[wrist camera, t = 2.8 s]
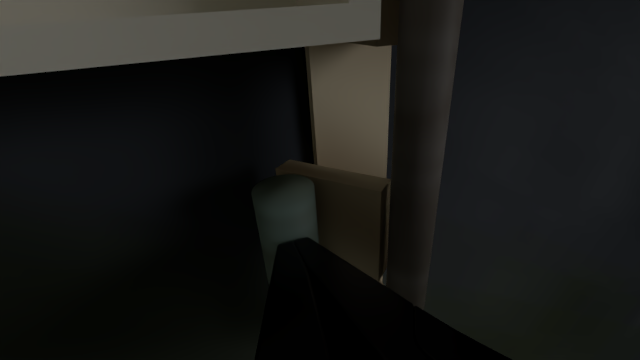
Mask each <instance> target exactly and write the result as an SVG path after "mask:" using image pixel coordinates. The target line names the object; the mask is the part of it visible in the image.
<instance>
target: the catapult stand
mask: <svg viewBox="0 0 640 360" xmlns="http://www.w3.org/2000/svg"><path fill="white" fill-rule="evenodd" d="M399 3H400V0H381V25H380V39H376V40H366V41H356V42H346V43H335V44H325V45H315V46H305V54H306V67H307V80H308V92H309V105H310V117H311V130H312V142H313V155H314V164H315V165H320V166H325V167H330V168H335V169H341V170H346V171H351V172H356V173H361V174H366V175H372V176H377V177H382V178H386V173H387V147H388V121H389V95H390V68H391V45H398V24H399ZM382 277H383V275H382ZM382 277H381V279H380V281H379V282H380V283H381V284H383V283H382Z"/></svg>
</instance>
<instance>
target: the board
mask: <svg viewBox="0 0 640 360" xmlns="http://www.w3.org/2000/svg"><path fill="white" fill-rule="evenodd" d="M380 25H381V0H0V77H1V76H11V75H21V74H31V73H41V72H51V71H61V70H72V69H82V68H92V67H102V66H112V65H122V64H133V63H143V62H153V61H163V60H173V59H183V58H193V57H204V56H214V55H224V54H234V53H244V52H254V51H264V50H275V49H285V48H295V47H305V46H315V45H325V44H335V43H346V42H356V41H366V40H376V39H380Z"/></svg>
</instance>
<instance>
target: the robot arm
mask: <svg viewBox="0 0 640 360" xmlns="http://www.w3.org/2000/svg"><path fill="white" fill-rule="evenodd" d="M255 360H512V359H510V358H508V357H506V356H504V355H502V354H500V353H498V352H496V351H494V350H492V349H490V348H489V347H487V346H485V345H483V344H481V343H479V342H477V341H475V340H474V339H472V338H470V337H468V336H466V335H464V334H463V333H461V332H459V331H457V330H455V329H453V328H452V327H450V326H448V325H447V324H445V323H444V322H442V321H440V320H439V319H437V318H435V317H434V316H432V315H430V314H429V313H427V312H426V311H424V310H422V309H421V308H419V307H418V306H414V307H413V303H411V302H410V301H408V300H406V299H405V298H403V297H402V296H400V295H399V294H397V293H395V292H394V291H392V290H391V289H389V288H388V287H386V286H384V285H383V284H381V283H380V282H378V281H377V280H375V279H374V278H372V277H370V276H369V275H367V274H366V273H364V272H363V271H361V270H359V269H358V268H356V267H355V266H353V265H352V264H350V263H348V262H347V261H345V260H344V259H342V258H341V257H339V256H337V255H336V254H334V253H333V252H331V251H330V250H328V249H326V248H325V247H323V246H322V245H320V244H319V243H317V242H315V241H314V240H312V239H311V238H309V237H304V238H300V239H297V240H294V241H289V242H285V243H281V244H279V245H278V246H277V250H276V255H275V260H274V265H273V270H272V275H271V280H270V285H269V290H268V295H267V300H266V305H265V310H264V315H263V320H262V325H261V330H260V335H259V340H258V345H257V350H256V355H255Z"/></svg>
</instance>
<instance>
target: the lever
mask: <svg viewBox="0 0 640 360" xmlns="http://www.w3.org/2000/svg"><path fill="white" fill-rule="evenodd" d="M463 3H464V0H400V3H399V24H398V45H397V67H396V88H395V110H394V131H393V152H392V174H391V179H387V178H382V177H377V176H372V175H366V174H361V173H356V172H351V171H346V170H341V169H335V168H330V167H325V166H320V165H315V164H309V163H304V162H299V161H294V160H288V161H287V162H285V163H284V164H282V165H281V166H279V167H278V168H276V169H275V170H276V176H273V177H269V178H267V179H264V180H262V181H260V182H259V183H257V184H256V185H255V186H254V187H253V189H252V192H251V195H252V200H253V205H254V210H255V216H256V221H257V226H258V231H259V237H260V242H261V247H262V252H263V258H264V263H265V268H266V273H267V279H268V284H269V285H270V280H271V275H272V270H273V265H274V260H275V255H276V250H277V246H278V245H279V244H281V243H285V242H289V241H294V240H297V239H300V238H304V237H309V238H311V239H312V240H314V241H315V242H317V243H319V244H320V245H322V246H323V247H325V248H326V249H328V250H330V251H331V252H333V253H334V254H336V255H337V256H339V257H341V258H342V259H344V260H345V261H347V262H348V263H350V264H352V265H353V266H355V267H356V268H358V269H359V270H361V271H363V272H364V273H366V274H367V275H369V276H370V277H372V278H374V279H375V280H377V281H378V282H379V281H380V279H381V277H382V275H383V273H384V272H385V270H386V268H387V281H386V287H388V288H389V289H391V290H392V291H394V292H395V293H397V294H399V295H400V296H402V297H403V298H405V299H406V300H408V301H410V302H411V303H413V307H414V306H418V307H419V308H421V309H422V310H424V305H425V298H426V290H427V282H428V274H429V267H430V259H431V251H432V243H433V236H434V228H435V220H436V212H437V205H438V197H439V189H440V181H441V174H442V166H443V158H444V150H445V143H446V135H447V127H448V119H449V112H450V104H451V96H452V88H453V81H454V73H455V65H456V57H457V50H458V42H459V34H460V26H461V19H462V11H463ZM390 188H391V195H390ZM389 210H390V217H389ZM388 232H389V238H388ZM387 253H388V260H387Z"/></svg>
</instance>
